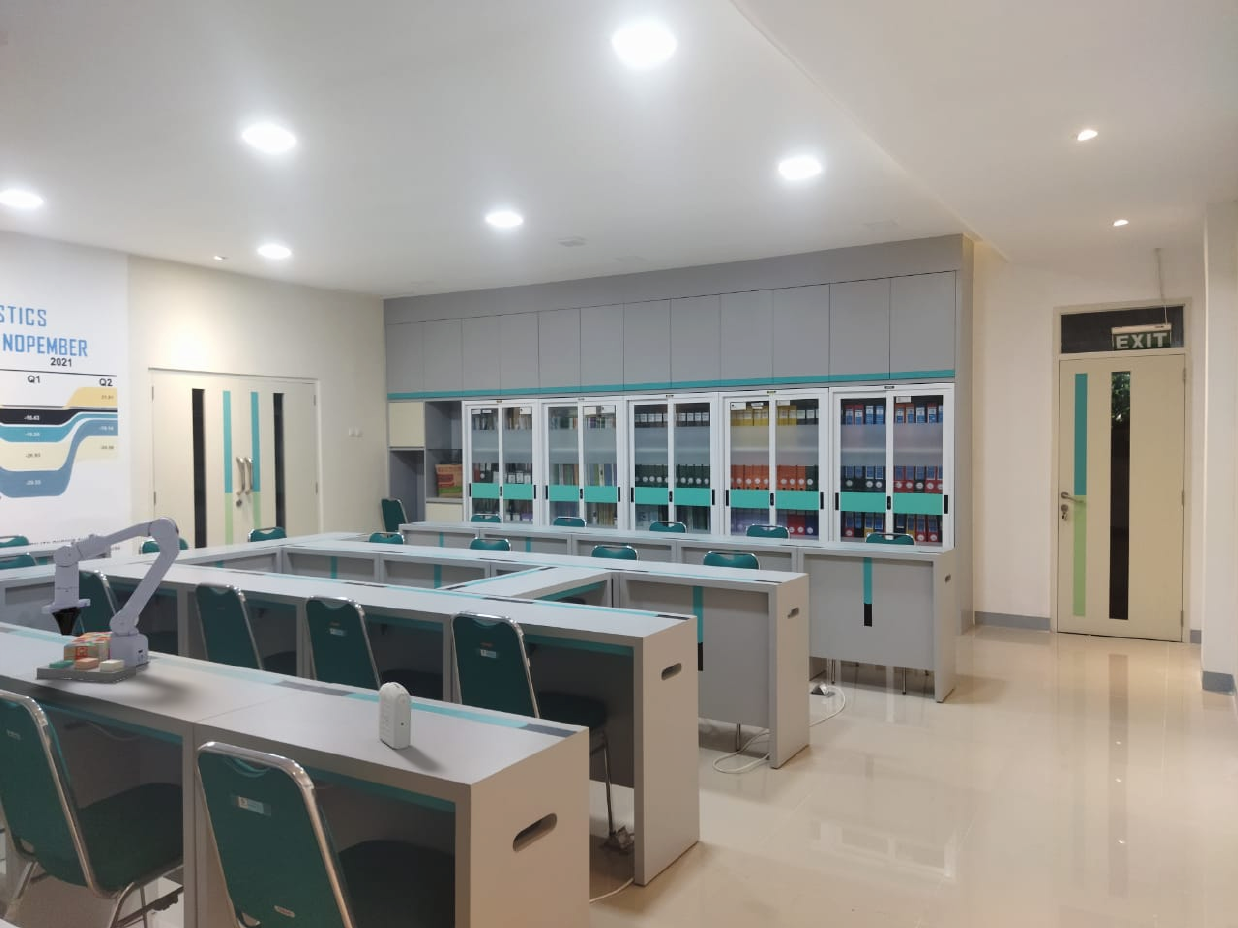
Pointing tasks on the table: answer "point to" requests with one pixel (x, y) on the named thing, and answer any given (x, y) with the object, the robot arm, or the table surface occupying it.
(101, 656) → the stack of blocks
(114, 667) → the cream button
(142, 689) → the table surface
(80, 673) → the button panel
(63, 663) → the teal button
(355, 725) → the table surface
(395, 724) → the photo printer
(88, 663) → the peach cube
